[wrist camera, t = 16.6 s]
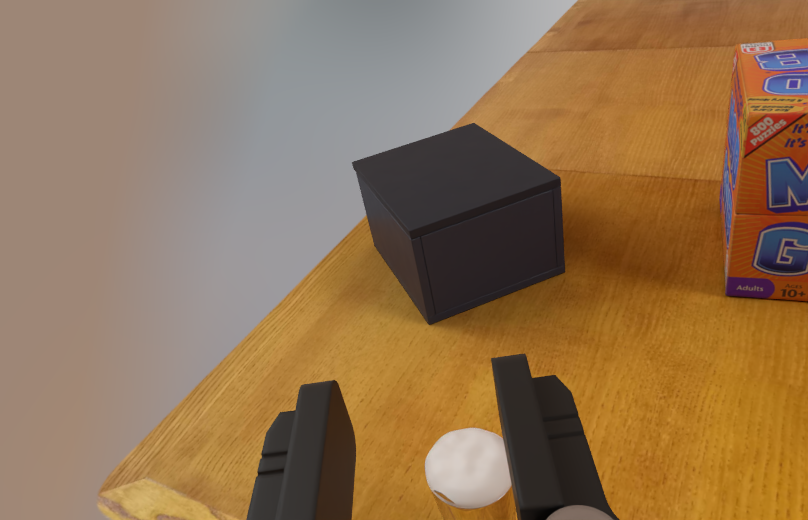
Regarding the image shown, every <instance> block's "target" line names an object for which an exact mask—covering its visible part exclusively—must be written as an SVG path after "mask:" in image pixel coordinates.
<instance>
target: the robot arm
mask: <svg viewBox="0 0 808 520" xmlns="http://www.w3.org/2000/svg"><path fill="white" fill-rule="evenodd" d="M491 361H492V369H493V376H494V383H495V389H496V396H497V403H498V410H499V417H500V423H501V429H502V435H503V440H504V446H505V451H506V457H507V462H508V468H509V473H510V479H511V484H512V490H513V495H514V501H515V506H516V512H517V518H518V520H619V519H618V518H617V517H616V515H615V514H614V513H613V512H612V510H611V508H610V507H609V505H608V503H607V500H606V498H605V495H604V492H603V488H602V485H601V482H600V479H599V476H598V473H597V470H596V467H595V464H594V461H593V458H592V455H591V451H590V448H589V445H588V442H587V439H586V436H585V435H584V430H583V427H582V424H581V421H580V418H579V416H578V411H577V408H576V405H575V402H574V399H573V396H572V393H571V391H570V390H569V389H568V388H567V387H566V386H565V385H564V384H563V383H562V382H561V381H560V380H559V379H558V378H557V377H556V375H551V376H544V377H537V378H532V377H531V373H530V369H529V365H528V361H527V357H526V355H525V354H518V355H511V356H504V357H497V358H491ZM261 455H262V459H260V463H259V467H258V477H256V480H255V485H254V489H253V493H252V498H251V502H250V506H249V511H248V515H247V520H351V518H352V504H353V490H354V476H355V462H356V443H355V435H354V430H353V426H352V423H351V420H350V417H349V414H348V411H347V408H346V405H345V403H344V400H343V397H342V394H341V391H340V388H339V385H338V383H337V381H335V380H332V381H325V382H318V383H311V384H304V385H301V387H300V389H299V394H298V399H297V405H296V410H295V411H287V412H280V413H279V415H278V416H277V418H276V419H275V421H274V422H273V424H272V425H271V427H270V428H269V430H268V431H267V433H266V437H265V441H264V446H263V450H262V454H261Z"/></svg>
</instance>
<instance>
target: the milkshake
mask: <svg viewBox="0 0 808 520" xmlns="http://www.w3.org/2000/svg"><path fill="white" fill-rule="evenodd" d="M425 473H426V478H427V482H428V485H429V487H430V489H431V491H432V494H433V496H434V498H435V501H436V503H437V505H438V508H439V510H440V512H441V515H442V517H443V520H516V508H515V501H514V495H513V490H512V484H511V479H510V473H509V468H508V462H507V457H506V451H505V446H504V440H503V439H502V438H501V437H500V436H498V435H497V434H495V433H492V432H489V431H486V430H483V429H479V428H467V429H461V430H455V431H451V432H449V433H447V434H445V435H444V436H442V437H441V438H440V439H439V440H438V441H437V442H436V443H435V444H434V446H433V447H432V449H431V450H430V452H429V453H428V455H427V457H426V461H425Z"/></svg>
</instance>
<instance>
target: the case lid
mask: <svg viewBox="0 0 808 520" xmlns="http://www.w3.org/2000/svg"><path fill="white" fill-rule="evenodd" d="M352 164H353V168H354V170H355V171H356V172H357V174H358V175H359V176H360V177H361V178H362V180H363V181H364V182H365V183H366V185H367V186H368V187H369V188H370V190H371V191H372V192H373V193H374V194H375V196H376V197H377V198H378V199H379V201H380V202H381V203H382V204H383V205H384V207H385V208H386V209H387V210H388V212H389V213H390V214H391V215H392V217H393V218H394V219H395V220H396V221H397V223H398V224H399V225H400V226H401V228H402V229H403V230H404V231H405V232H406V234H407V235H408V236H409V237H410V239H413V238H416V237H419V236H422V235H424V234H427V233H430V232H433V231H436V230H438V229H441V228H444V227H447V226H450V225H452V224H455V223H458V222H461V221H464V220H466V219H469V218H472V217H475V216H478V215H480V214H483V213H486V212H489V211H492V210H494V209H497V208H500V207H503V206H506V205H508V204H511V203H514V202H517V201H520V200H522V199H525V198H528V197H531V196H534V195H536V194H539V193H542V192H545V191H548V190H550V189H553V188H556V187H559V186H561V179H560V177H559V176H557V175H556V174H554V173H552V172H551V171H549V170H548V169H546V168H544V167H543V166H541V165H540V164H538V163H537V162H535V161H533V160H532V159H530V158H529V157H527V156H525V155H524V154H522V153H521V152H519V151H518V150H516V149H514V148H513V147H511V146H510V145H508V144H506V143H505V142H503V141H502V140H500V139H499V138H497V137H495V136H494V135H492V134H491V133H489V132H488V131H486V130H484V129H483V128H481V127H480V126H478V125H476V124H475V123H472V124H469V125H466V126H463V127H459V128H456V129H453V130H450V131H447V132H444V133H441V134H438V135H435V136H432V137H429V138H425V139H422V140H419V141H416V142H413V143H410V144H407V145H404V146H401V147H398V148H394V149H391V150H388V151H385V152H382V153H379V154H376V155H373V156H370V157H367V158H364V159H361V160H357V161H354V162H352Z"/></svg>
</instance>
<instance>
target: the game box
mask: <svg viewBox="0 0 808 520" xmlns="http://www.w3.org/2000/svg"><path fill="white" fill-rule="evenodd" d="M726 127H727V131H726V139H725V151H724V158H723V169H722V179H721V189H720V210H721V227H722V241H723V256H724V273H725V294H726V295H727V296H739V297H755V298H769V299H785V300H798V301H808V38H805V39H791V40H778V41H765V42H753V43H741V44H737V45H736V48H735V54H734V63H733V73H732V81H731V91H730V99H729V108H728V117H727V126H726Z"/></svg>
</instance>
